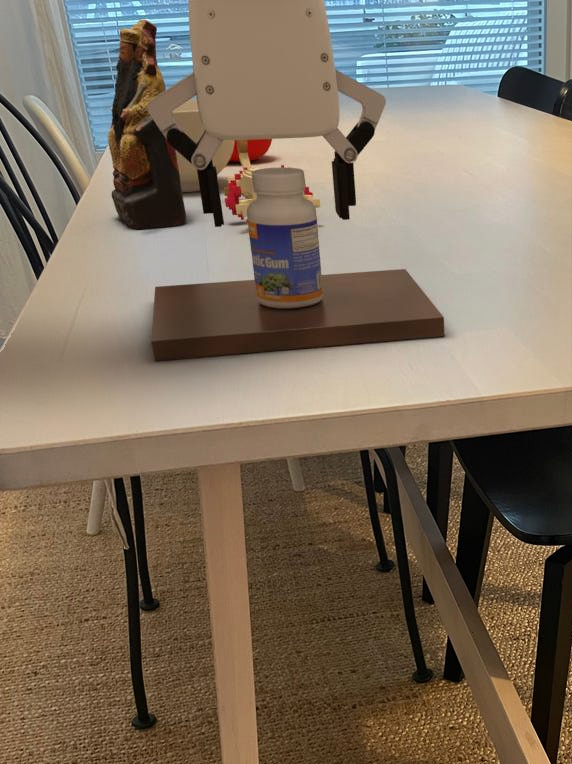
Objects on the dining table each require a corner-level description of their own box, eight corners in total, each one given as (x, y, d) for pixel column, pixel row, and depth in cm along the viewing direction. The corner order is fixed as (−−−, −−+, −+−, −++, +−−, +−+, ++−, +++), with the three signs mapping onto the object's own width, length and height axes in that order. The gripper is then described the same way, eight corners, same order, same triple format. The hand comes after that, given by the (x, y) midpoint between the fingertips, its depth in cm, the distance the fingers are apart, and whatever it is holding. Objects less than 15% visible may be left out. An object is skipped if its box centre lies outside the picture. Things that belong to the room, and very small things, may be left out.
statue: (114, 215, 119) (74, 19, 107) (181, 209, 121) (149, 17, 110) (124, 234, 109) (82, 22, 98) (197, 228, 112) (164, 21, 101)
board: (154, 361, 73) (150, 341, 72) (158, 304, 86) (154, 286, 85) (444, 336, 77) (444, 317, 76) (406, 285, 90) (405, 268, 89)
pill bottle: (243, 303, 80) (225, 172, 74) (290, 289, 84) (275, 163, 78) (292, 313, 77) (276, 179, 72) (338, 298, 81) (326, 169, 76)
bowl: (248, 195, 128) (237, 109, 123) (121, 201, 126) (104, 113, 120) (247, 176, 141) (236, 97, 136) (131, 181, 139) (116, 100, 133)
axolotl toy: (210, 212, 126) (244, 233, 105) (198, 135, 121) (230, 142, 101) (287, 206, 129) (334, 225, 108) (278, 131, 124) (325, 136, 104)
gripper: (368, -45, 72) (382, 205, 82) (123, -45, 69) (168, 217, 78) (385, -48, 66) (398, 223, 76) (118, -48, 63) (167, 236, 72)
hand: (281, 219), depth 77 cm, fingers open, 9 cm apart
